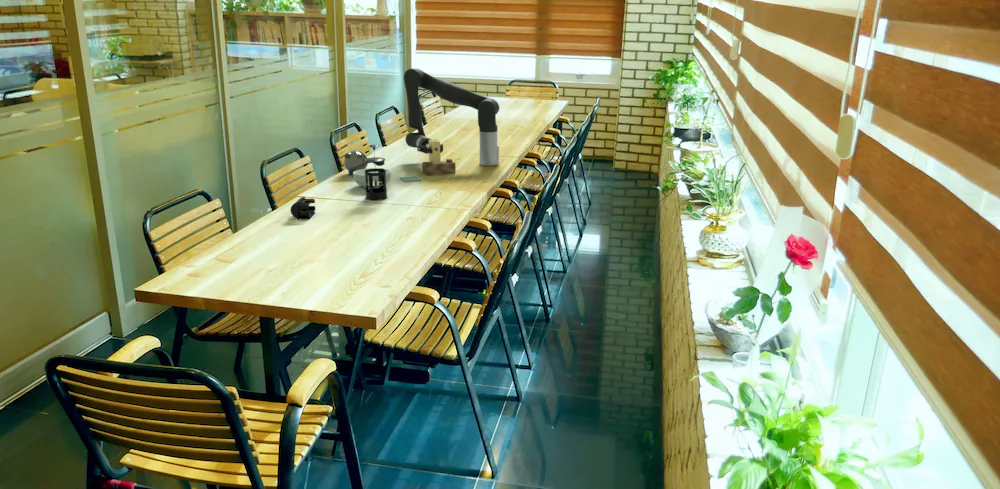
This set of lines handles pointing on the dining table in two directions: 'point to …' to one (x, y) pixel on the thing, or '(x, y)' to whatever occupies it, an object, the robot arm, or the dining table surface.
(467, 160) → the dining table surface
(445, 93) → the robot arm
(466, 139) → the dining table surface
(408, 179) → the mat
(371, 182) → the french press
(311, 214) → the end cap
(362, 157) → the piggy bank
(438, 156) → the brushed brass block
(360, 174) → the cereal bowl
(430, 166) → the body
